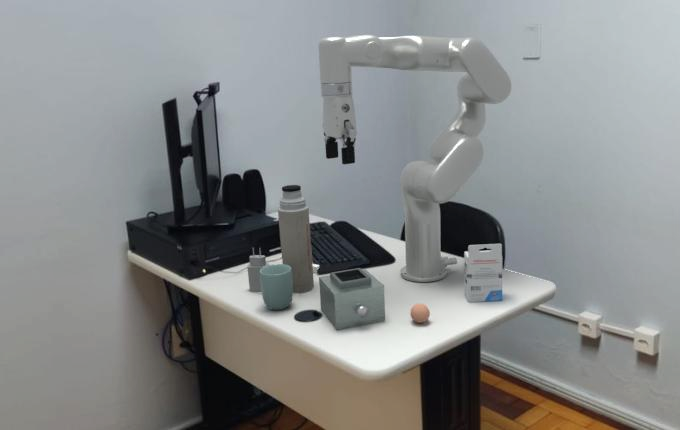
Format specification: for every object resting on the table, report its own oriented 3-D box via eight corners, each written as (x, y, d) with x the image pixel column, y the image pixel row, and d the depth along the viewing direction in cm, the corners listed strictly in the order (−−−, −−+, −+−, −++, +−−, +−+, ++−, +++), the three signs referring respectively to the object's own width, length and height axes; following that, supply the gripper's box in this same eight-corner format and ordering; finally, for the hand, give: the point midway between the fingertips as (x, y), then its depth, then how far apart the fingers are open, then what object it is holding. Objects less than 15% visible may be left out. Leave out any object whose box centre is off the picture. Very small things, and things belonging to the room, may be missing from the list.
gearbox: (366, 302, 155) (365, 263, 152) (388, 324, 142) (387, 282, 140) (321, 310, 152) (318, 271, 149) (339, 334, 139) (336, 291, 136)
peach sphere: (424, 316, 145) (424, 299, 144) (433, 324, 141) (432, 306, 140) (407, 320, 144) (406, 302, 143) (415, 327, 140) (415, 309, 139)
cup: (281, 315, 150) (278, 276, 148) (256, 309, 154) (253, 272, 152) (300, 303, 156) (297, 266, 154) (275, 298, 161) (272, 262, 158)
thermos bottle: (317, 282, 170) (310, 182, 162) (309, 293, 162) (302, 189, 155) (289, 281, 171) (281, 183, 164) (280, 292, 164) (272, 189, 157)
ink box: (497, 293, 156) (498, 237, 152) (502, 301, 151) (503, 243, 148) (463, 294, 156) (463, 239, 152) (467, 302, 152) (467, 245, 148)
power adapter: (252, 287, 169) (248, 245, 166) (271, 288, 168) (268, 245, 165) (249, 292, 166) (244, 249, 163) (268, 292, 165) (264, 249, 162)
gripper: (366, 90, 142) (369, 164, 147) (336, 87, 158) (339, 154, 162) (336, 93, 140) (340, 168, 144) (308, 90, 155) (313, 157, 159)
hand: (340, 160), depth 153 cm, fingers open, 9 cm apart
